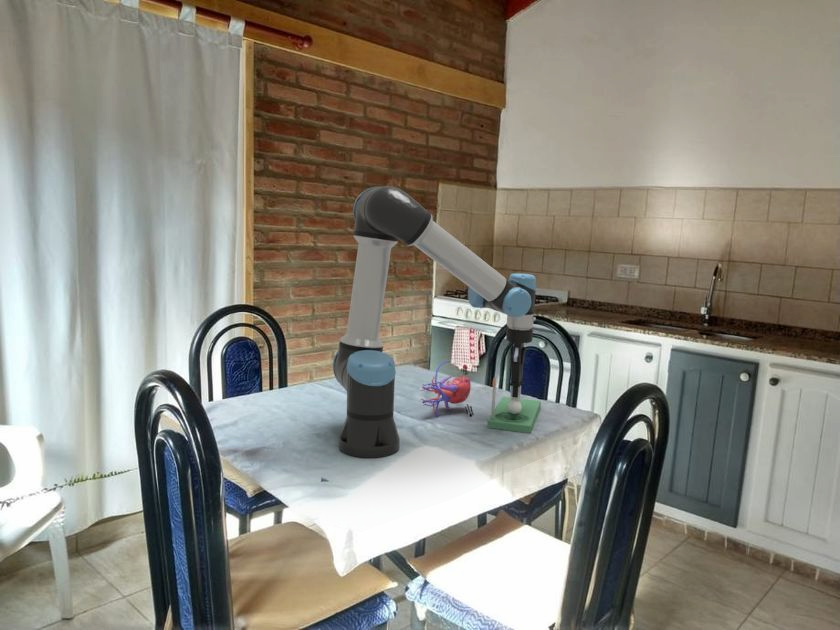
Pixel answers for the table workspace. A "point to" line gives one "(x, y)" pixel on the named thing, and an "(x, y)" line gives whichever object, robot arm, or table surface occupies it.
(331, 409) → the table surface
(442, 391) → the heart model
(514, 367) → the robot arm
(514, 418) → the green
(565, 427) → the table surface
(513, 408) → the ball
